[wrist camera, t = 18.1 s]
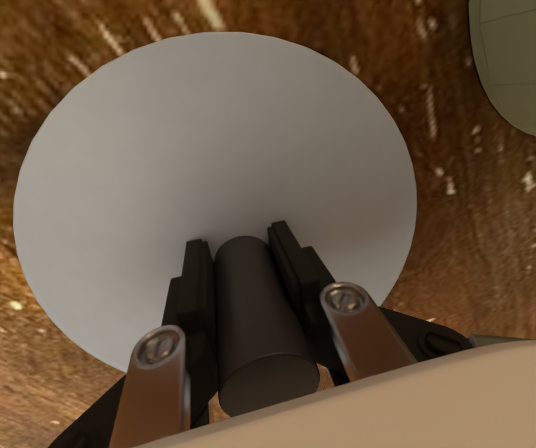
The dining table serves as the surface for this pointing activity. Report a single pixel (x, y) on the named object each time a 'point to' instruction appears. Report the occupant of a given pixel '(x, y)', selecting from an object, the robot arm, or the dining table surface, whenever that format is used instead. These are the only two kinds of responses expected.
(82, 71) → the dining table surface
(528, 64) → the processor bowl
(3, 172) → the dining table surface
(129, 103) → the lid
